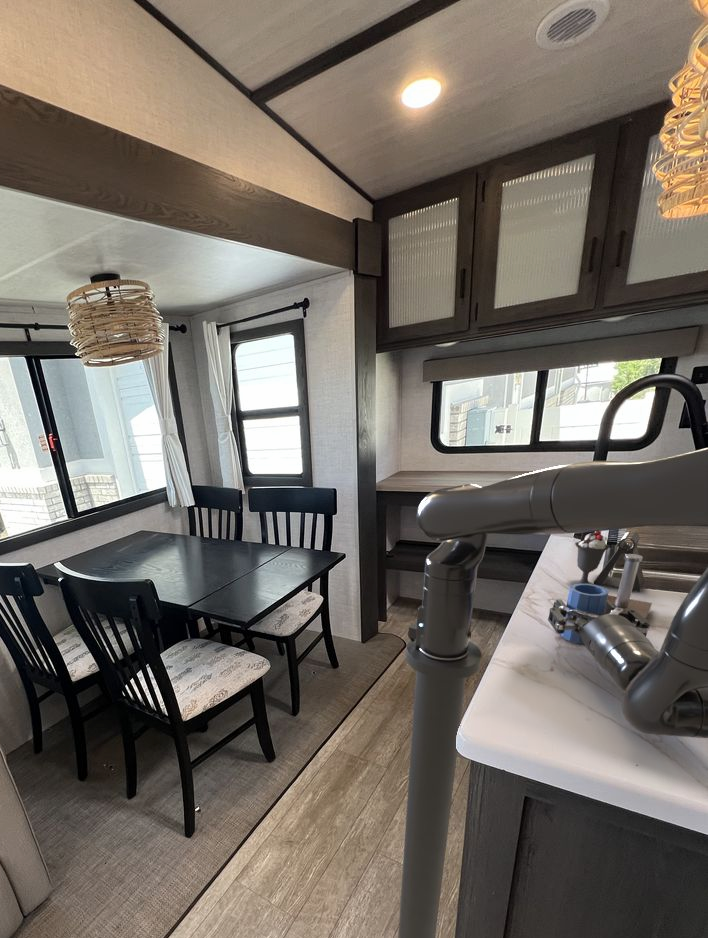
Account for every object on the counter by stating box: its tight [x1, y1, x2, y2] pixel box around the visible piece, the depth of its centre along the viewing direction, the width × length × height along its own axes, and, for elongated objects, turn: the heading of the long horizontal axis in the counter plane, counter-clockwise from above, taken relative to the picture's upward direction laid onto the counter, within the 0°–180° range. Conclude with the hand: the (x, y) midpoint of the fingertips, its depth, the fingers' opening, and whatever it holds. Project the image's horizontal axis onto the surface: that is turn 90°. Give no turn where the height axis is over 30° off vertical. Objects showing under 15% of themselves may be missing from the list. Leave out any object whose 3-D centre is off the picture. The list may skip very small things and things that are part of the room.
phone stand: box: [592, 531, 645, 593], centre depth 108 cm, size 9×6×12 cm, turn 46°
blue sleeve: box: [560, 584, 609, 645], centre depth 88 cm, size 6×6×10 cm
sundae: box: [570, 531, 611, 586], centre depth 109 cm, size 7×7×15 cm
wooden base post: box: [604, 553, 653, 620], centre depth 95 cm, size 9×9×13 cm
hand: (580, 604), depth 90 cm, fingers open, 7 cm apart
